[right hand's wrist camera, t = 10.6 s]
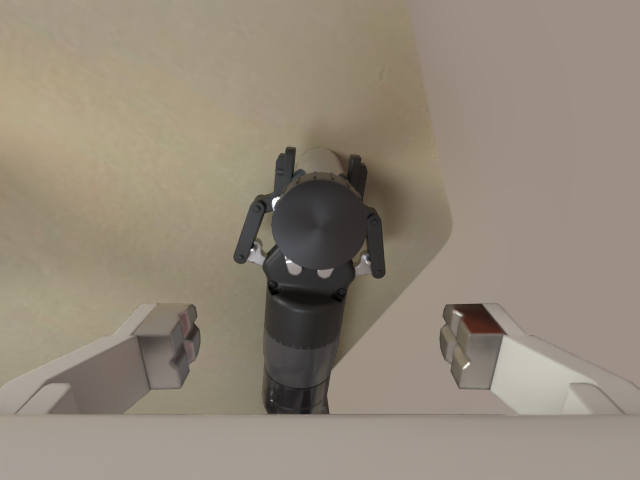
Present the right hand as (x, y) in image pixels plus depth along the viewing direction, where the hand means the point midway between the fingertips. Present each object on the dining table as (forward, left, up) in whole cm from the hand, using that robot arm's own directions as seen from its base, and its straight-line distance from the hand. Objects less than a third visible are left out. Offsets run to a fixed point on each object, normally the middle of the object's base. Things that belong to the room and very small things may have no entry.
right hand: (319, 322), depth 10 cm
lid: (0, 0, -9) cm, 9 cm away
